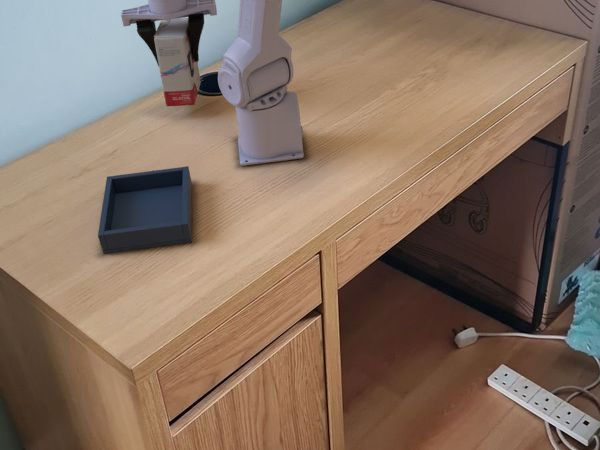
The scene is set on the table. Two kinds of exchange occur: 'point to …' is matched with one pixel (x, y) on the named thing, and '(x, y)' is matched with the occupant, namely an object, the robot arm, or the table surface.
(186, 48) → the ink box
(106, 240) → the dark blue tray
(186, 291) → the table surface
